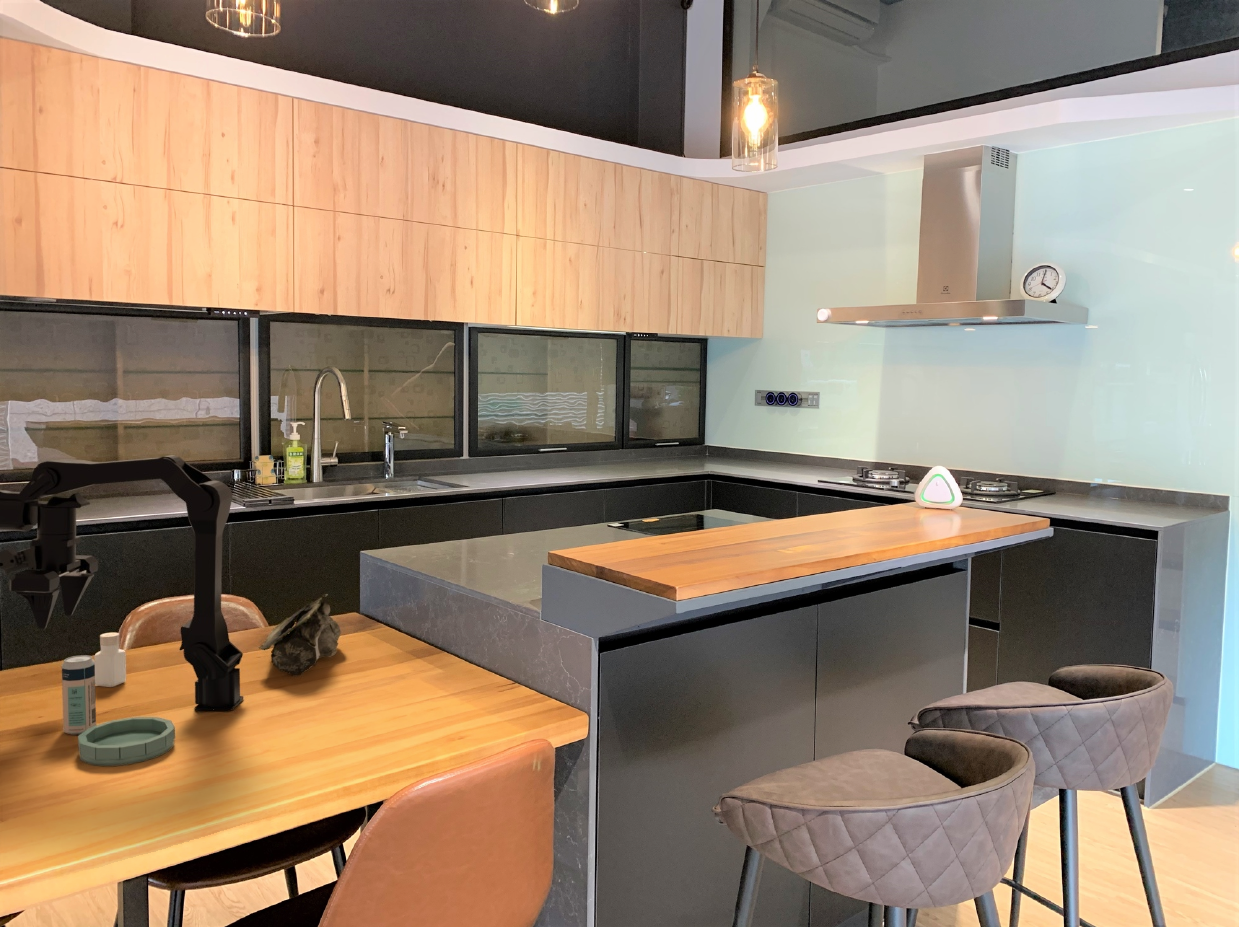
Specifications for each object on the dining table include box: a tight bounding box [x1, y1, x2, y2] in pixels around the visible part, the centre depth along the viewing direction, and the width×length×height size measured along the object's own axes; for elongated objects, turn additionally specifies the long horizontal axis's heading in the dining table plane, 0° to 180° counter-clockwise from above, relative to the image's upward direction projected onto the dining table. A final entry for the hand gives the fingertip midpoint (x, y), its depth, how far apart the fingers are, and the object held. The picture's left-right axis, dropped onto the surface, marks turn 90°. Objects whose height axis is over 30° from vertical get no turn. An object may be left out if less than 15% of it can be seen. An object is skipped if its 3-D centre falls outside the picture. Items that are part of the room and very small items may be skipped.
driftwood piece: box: [258, 593, 342, 677], centre depth 192 cm, size 28×13×15 cm
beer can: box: [60, 654, 97, 736], centre depth 152 cm, size 5×5×12 cm
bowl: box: [77, 716, 176, 767], centre depth 145 cm, size 13×13×3 cm
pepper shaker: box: [93, 632, 127, 688], centre depth 175 cm, size 4×4×10 cm
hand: (55, 621), depth 161 cm, fingers open, 9 cm apart
